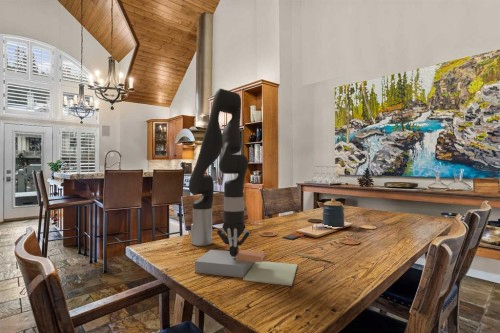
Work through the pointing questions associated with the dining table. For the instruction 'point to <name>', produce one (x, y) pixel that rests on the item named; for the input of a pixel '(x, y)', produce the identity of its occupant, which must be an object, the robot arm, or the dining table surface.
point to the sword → (311, 257)
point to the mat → (272, 273)
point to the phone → (293, 236)
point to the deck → (222, 264)
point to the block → (250, 256)
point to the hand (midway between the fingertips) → (234, 256)
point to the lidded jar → (333, 213)
